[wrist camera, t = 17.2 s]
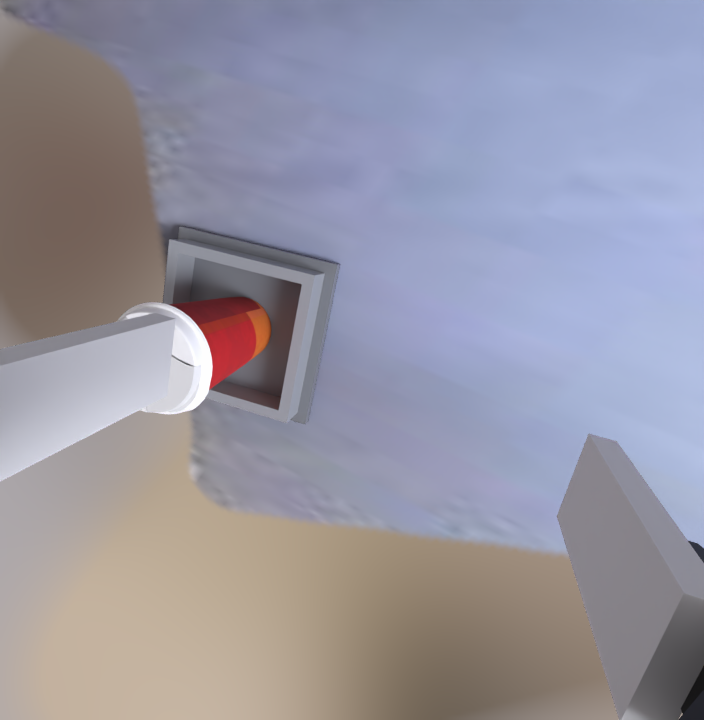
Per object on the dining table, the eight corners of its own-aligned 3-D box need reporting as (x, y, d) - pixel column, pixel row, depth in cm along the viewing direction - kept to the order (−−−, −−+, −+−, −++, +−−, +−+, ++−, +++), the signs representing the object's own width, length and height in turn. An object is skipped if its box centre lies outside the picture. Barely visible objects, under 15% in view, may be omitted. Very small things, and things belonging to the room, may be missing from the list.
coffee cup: (189, 320, 49) (75, 354, 35) (243, 266, 47) (143, 279, 32) (244, 385, 50) (152, 444, 35) (301, 334, 47) (226, 376, 33)
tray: (185, 226, 48) (160, 225, 44) (340, 264, 45) (328, 266, 42) (168, 378, 53) (144, 389, 49) (308, 420, 50) (294, 435, 46)
